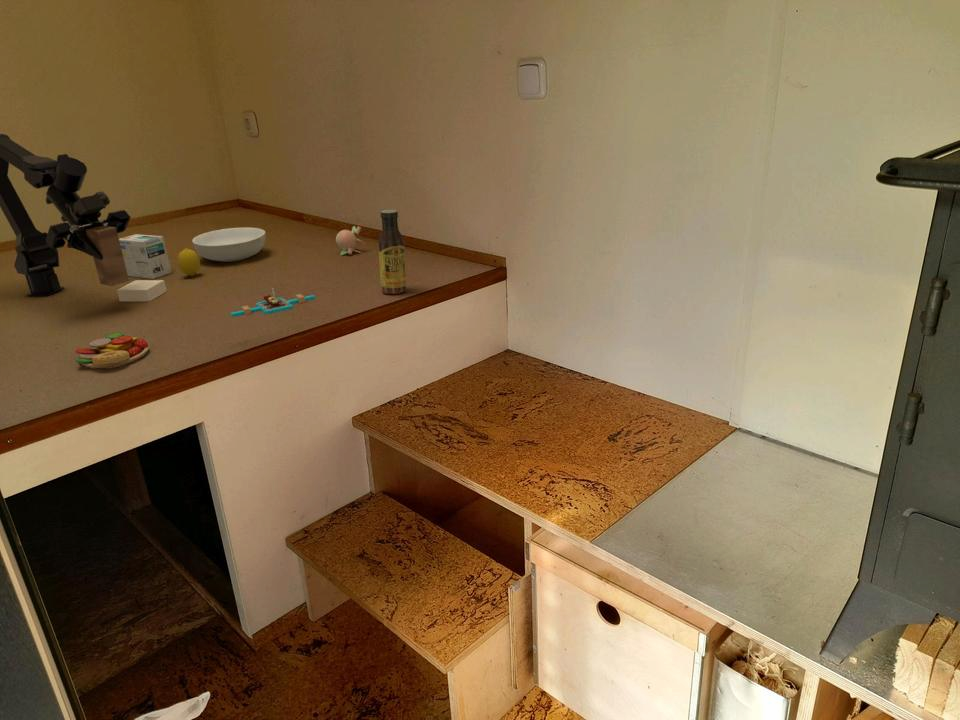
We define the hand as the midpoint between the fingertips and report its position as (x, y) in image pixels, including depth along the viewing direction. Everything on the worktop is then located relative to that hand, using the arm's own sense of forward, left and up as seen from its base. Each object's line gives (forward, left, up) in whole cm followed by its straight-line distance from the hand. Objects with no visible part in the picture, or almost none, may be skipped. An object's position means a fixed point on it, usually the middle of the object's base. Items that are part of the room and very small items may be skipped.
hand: (111, 256), depth 162 cm
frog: (+41, +51, -14) cm, 67 cm away
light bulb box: (-11, +29, -14) cm, 34 cm away
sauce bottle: (+64, +14, -13) cm, 66 cm away
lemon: (+3, +27, -14) cm, 30 cm away
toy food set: (+16, -28, -14) cm, 35 cm away
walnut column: (-1, +1, -7) cm, 7 cm away
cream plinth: (-1, +10, -13) cm, 17 cm away
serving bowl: (+6, +46, -14) cm, 48 cm away
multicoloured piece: (+36, +3, -14) cm, 39 cm away
